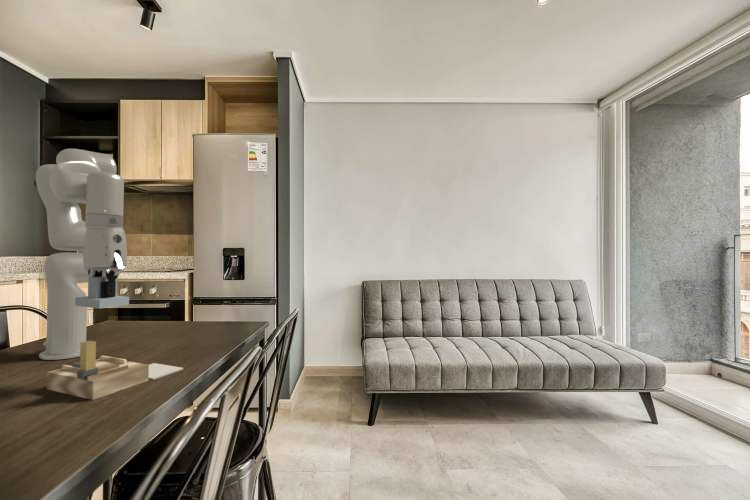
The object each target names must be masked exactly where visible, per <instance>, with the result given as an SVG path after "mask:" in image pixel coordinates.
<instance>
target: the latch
mask: <svg viewBox="0 0 750 500" xmlns="http://www.w3.org/2000/svg"><path fill="white" fill-rule="evenodd" d="M96 356H97V341H96V340H95V341H94V340H86V342H81V343H80V356H79V358H80V359H79V361H78V362H73V363H71V366H72V367H76V368H80V370H77V379H82V380H84V379H87V376H91V375H94V374H97V373H98V368H97V367H96V360H97V359H96V358H97V357H96Z"/></svg>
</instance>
